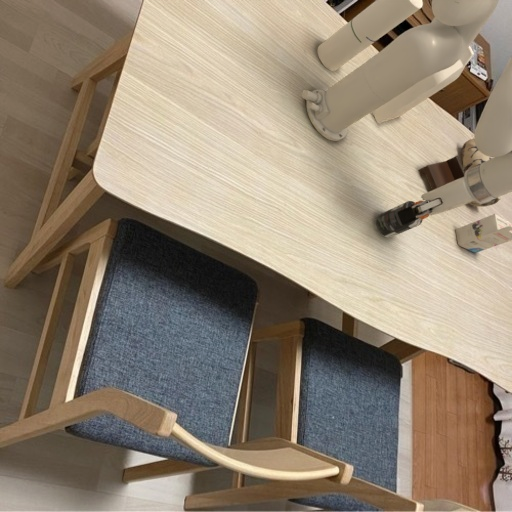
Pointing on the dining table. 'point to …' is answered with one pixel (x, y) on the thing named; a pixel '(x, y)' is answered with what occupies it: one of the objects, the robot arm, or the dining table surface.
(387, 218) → the pill bottle
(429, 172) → the shelf
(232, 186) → the dining table surface
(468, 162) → the pencil case
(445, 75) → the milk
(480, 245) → the ink box
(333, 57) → the cylindrical container
